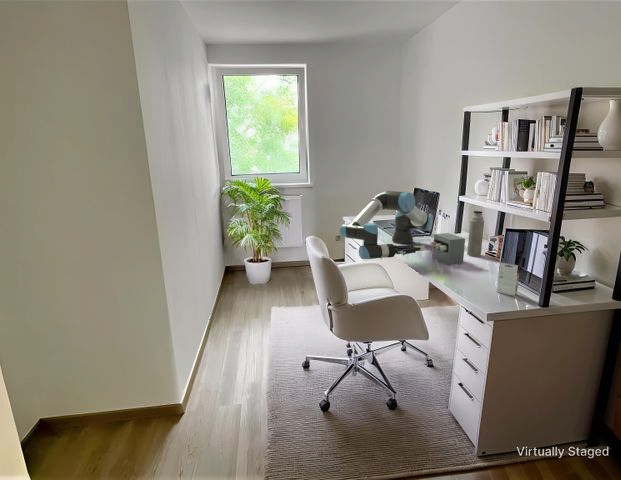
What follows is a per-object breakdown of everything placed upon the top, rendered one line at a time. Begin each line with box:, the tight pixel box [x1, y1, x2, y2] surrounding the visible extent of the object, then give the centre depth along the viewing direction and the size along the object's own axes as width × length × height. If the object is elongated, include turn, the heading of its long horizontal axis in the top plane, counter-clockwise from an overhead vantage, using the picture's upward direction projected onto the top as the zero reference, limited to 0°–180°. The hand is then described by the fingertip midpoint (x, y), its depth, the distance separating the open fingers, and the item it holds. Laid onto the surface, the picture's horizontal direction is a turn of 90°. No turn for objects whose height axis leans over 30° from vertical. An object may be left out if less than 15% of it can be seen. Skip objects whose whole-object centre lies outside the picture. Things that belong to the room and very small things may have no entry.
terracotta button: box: [430, 241, 440, 248], centre depth 224 cm, size 3×5×3 cm, turn 105°
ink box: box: [495, 261, 520, 297], centre depth 169 cm, size 4×8×15 cm, turn 47°
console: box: [431, 232, 466, 266], centre depth 221 cm, size 16×10×15 cm, turn 15°
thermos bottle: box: [466, 210, 485, 258], centre depth 231 cm, size 8×8×28 cm
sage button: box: [440, 245, 449, 251], centre depth 215 cm, size 3×5×3 cm, turn 105°
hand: (424, 247), depth 211 cm, fingers closed
